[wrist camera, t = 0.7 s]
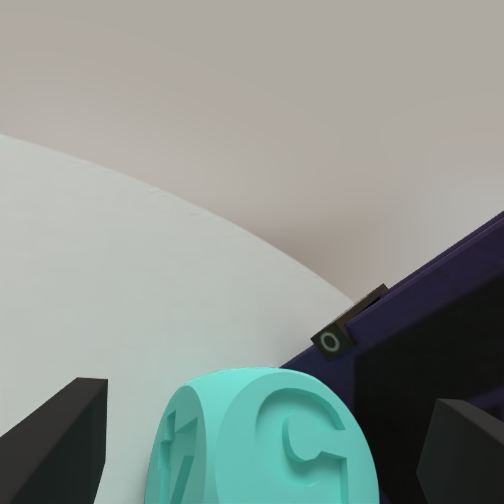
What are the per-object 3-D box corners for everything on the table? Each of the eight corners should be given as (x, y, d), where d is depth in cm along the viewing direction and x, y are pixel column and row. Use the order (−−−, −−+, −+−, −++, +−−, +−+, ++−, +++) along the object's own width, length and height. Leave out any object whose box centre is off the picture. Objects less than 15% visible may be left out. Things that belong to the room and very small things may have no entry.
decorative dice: (132, 599, 17) (204, 614, 12) (153, 407, 22) (212, 353, 16) (288, 586, 20) (404, 593, 15) (277, 421, 25) (361, 380, 20)
